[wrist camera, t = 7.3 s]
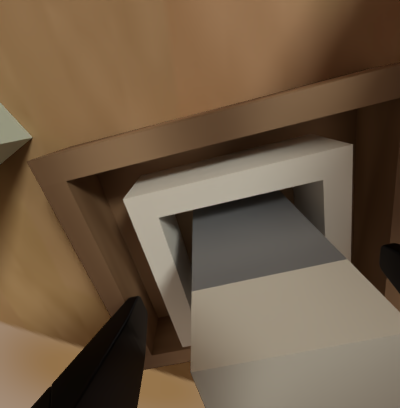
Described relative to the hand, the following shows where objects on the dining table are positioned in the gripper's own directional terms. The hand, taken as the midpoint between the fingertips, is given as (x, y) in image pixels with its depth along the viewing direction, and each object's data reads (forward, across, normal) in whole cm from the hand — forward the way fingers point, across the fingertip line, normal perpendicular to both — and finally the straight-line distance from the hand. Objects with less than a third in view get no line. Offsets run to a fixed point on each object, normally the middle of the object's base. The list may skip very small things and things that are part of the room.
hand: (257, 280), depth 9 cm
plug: (+4, 0, 0) cm, 4 cm away
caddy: (+4, 0, 0) cm, 4 cm away
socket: (+4, 0, 0) cm, 4 cm away
